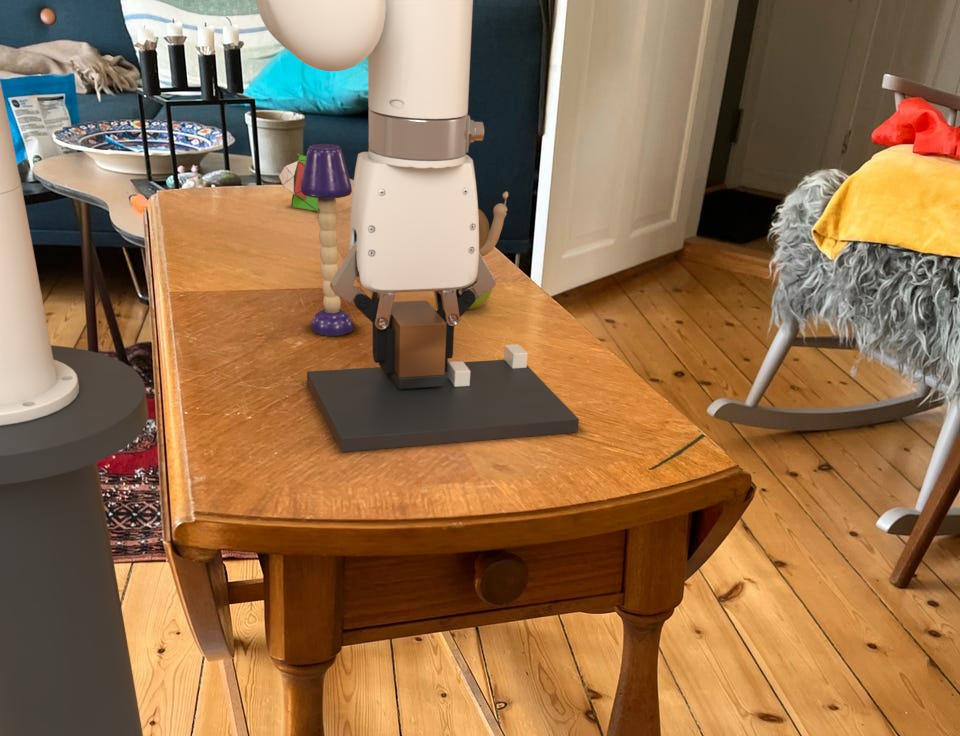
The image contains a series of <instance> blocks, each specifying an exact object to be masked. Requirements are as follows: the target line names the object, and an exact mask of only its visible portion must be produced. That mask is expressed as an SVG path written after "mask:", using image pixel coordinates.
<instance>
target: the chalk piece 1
mask: <svg viewBox="0 0 960 736" xmlns="http://www.w3.org/2000/svg"><path fill="white" fill-rule="evenodd" d="M464 362H465V361H463V360H459V361H448V378H449V379H450V381H451V382H452V384H453V385H454V387H460V386H470V370H469V369H468V367H467V366H466V365H465V363H464Z"/></svg>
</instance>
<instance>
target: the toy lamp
mask: <svg viewBox="0 0 960 736" xmlns="http://www.w3.org/2000/svg"><path fill="white" fill-rule="evenodd" d="M305 156H306V162H305V167H304V173H303V179H302V185H301V191H302V193H303V194H304V195H306V196H309V197H314V198H318V201H317V202H318V208H319V212H318V226H319V228H320V229H319V234H318V239H319V243H320V250H319V257H320V261H321V265H320V273H321V277H322V285H321V286H322V292H323V295H324V296H323V302H322V303H323V308H324V309H321V310H319V311H318V312H316V313H315V314H314V316H313V318H312V320H311V324H310V329H311V331H312V332H313V333H314V334H317V335H320V336H325V337H337V336H344V335H347V334H351V332H353V331H354V329H355V327H354V321H353V319H352V318H351V316H350V315H349V314H348V313H347V312H346V311H344V310H342V309H341V306H342V302H341V297H339V296H337V295H336V294H335V293H334V292H333V290H332V289H331V287H330V283H331V281H332V279H333V278H334V276H335V274H336V273H337V271H338V269H339V268H340V266H339V264H338V260H339V250H338V247H337V243H338V232H337V230H336V227H337V223H338V219H337V215H336V213H335V211H336V208H337V200H336V199H340V198H345V197H349V196H351V195H352V191H353V186H352V183H351V179H350V175H349V172H348V168H347V163H346V161H345V157H344V153H343V151H342V148H341V147H340V146H339V145H337V144H331V143H315V144H311V145H309V146H308V148H307V152H306V155H305Z"/></svg>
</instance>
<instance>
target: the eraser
mask: <svg viewBox="0 0 960 736" xmlns="http://www.w3.org/2000/svg"><path fill="white" fill-rule="evenodd" d="M436 311H437V310H435V308H434V307H433V306H432V305H431V303H430V302H429V301H427V300H408V301H406V300H405V301H404V300H403V301H394V302H393V307H392V312H391V317H390V320H391V326H392V328H393V329H394V331H395V372H394V373H393V375H390V376H391V378H392V379H393V381H394V382H395V384H396V385H397V387H398V388H399V389H410V388H425V387H439V386H444V374H445V349H446V325H447V324H446V322H445V321H444V320H443V319H442V318H441V316H440V315H439V314H438V313H437V312H436Z"/></svg>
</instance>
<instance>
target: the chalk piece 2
mask: <svg viewBox="0 0 960 736" xmlns="http://www.w3.org/2000/svg"><path fill="white" fill-rule="evenodd" d="M503 353H504V354H503V360H505V361H506V362H507V363H508V364H509V365H510V366H511V367H512V368H513V369H514V368H526V367H527V366H528V357H529V356H528V355H529V353H528V351H526V350H525V349H524V348H523V347H522V346H521V344H519V343H516V344H515V343H514V344H513V343H512V344H505V345H504V352H503Z"/></svg>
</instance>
